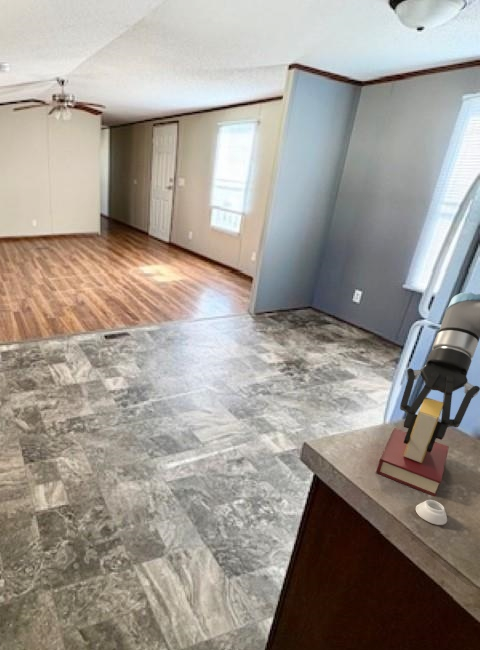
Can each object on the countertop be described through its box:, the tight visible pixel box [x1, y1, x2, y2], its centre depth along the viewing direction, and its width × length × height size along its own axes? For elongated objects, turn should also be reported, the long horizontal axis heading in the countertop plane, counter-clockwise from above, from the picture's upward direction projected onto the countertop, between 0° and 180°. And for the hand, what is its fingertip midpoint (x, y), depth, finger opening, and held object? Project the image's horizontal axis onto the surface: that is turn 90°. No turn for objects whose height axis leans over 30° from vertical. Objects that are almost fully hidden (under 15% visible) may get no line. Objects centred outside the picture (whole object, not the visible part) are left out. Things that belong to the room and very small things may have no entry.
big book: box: [375, 427, 450, 497], centre depth 98 cm, size 16×11×4 cm
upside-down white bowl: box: [415, 499, 448, 526], centre depth 84 cm, size 5×3×5 cm
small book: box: [403, 397, 444, 463], centre depth 94 cm, size 4×8×12 cm, turn 137°
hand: (417, 445), depth 93 cm, fingers closed on small book, 3 cm apart
